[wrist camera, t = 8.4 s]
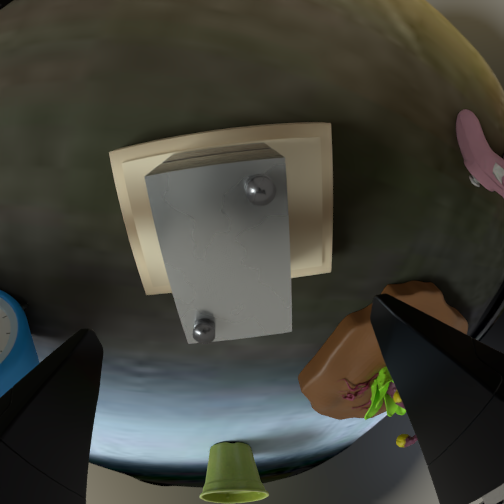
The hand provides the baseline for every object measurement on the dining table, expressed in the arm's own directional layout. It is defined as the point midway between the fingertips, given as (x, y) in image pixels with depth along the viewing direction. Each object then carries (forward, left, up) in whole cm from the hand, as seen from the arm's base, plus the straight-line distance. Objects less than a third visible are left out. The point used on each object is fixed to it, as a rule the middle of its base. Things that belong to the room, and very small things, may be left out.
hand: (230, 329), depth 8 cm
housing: (0, 0, -10) cm, 10 cm away
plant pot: (+36, -5, -12) cm, 38 cm away
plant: (+19, +15, -12) cm, 28 cm away
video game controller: (-3, +23, -12) cm, 26 cm away
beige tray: (0, 0, -12) cm, 12 cm away
